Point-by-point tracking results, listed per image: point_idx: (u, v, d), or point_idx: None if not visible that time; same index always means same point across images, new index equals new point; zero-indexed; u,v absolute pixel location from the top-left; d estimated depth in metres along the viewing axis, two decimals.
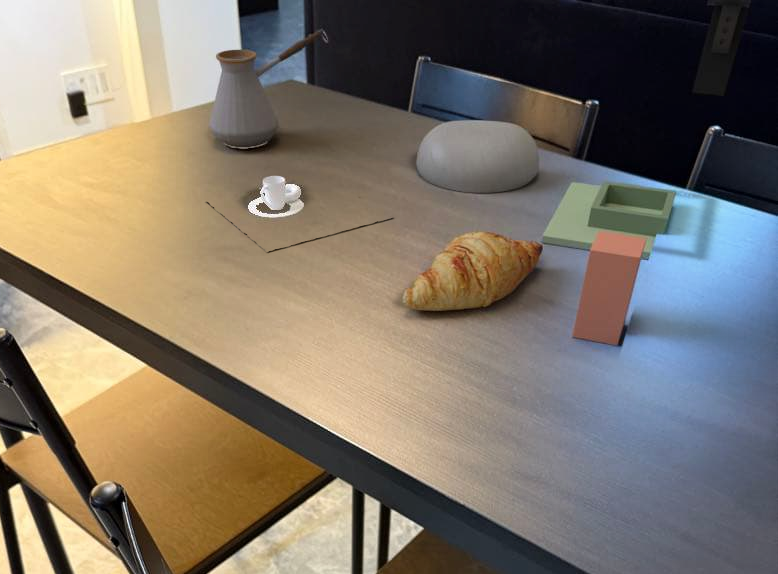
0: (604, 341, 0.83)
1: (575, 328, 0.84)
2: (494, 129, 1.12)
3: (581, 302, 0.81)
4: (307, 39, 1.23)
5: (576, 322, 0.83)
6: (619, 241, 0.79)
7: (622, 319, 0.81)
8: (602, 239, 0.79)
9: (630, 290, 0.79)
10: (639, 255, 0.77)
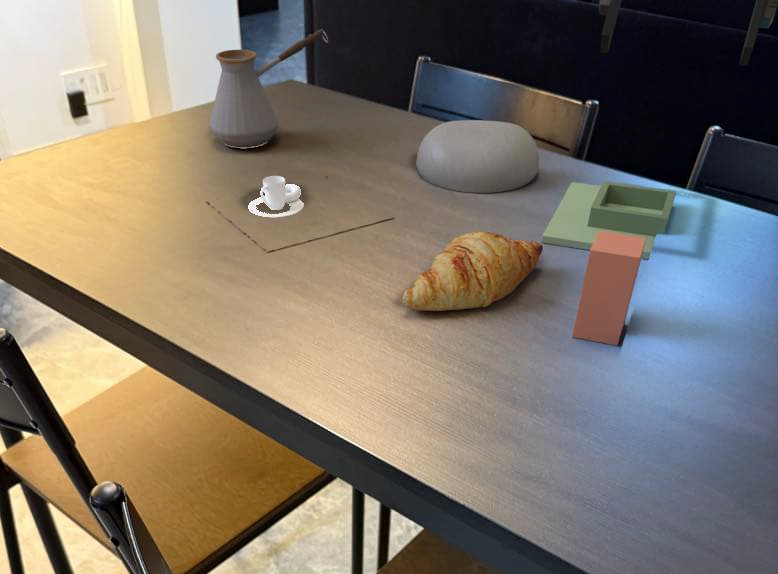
0: (604, 341, 0.83)
1: (575, 328, 0.84)
2: (494, 129, 1.12)
3: (581, 302, 0.81)
4: (307, 39, 1.23)
5: (576, 322, 0.83)
6: (619, 241, 0.79)
7: (622, 319, 0.81)
8: (602, 239, 0.79)
9: (630, 290, 0.79)
10: (639, 255, 0.77)
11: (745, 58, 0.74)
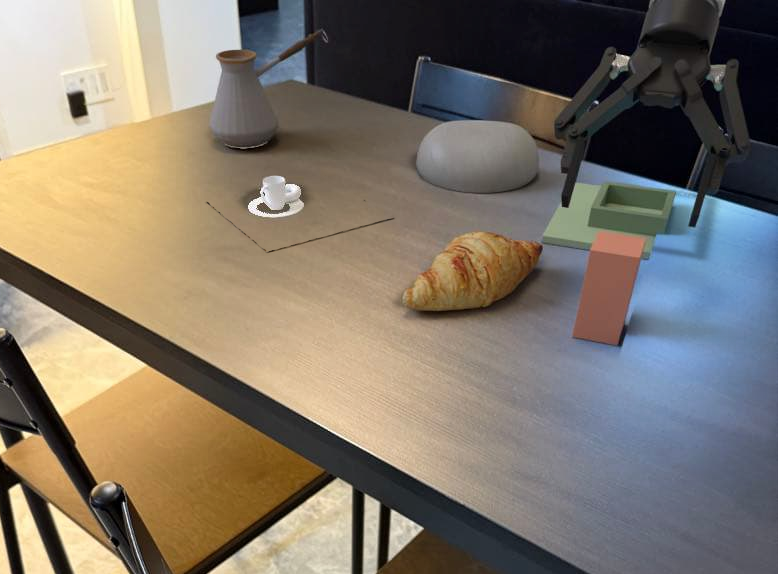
0: (604, 341, 0.83)
1: (575, 328, 0.84)
2: (494, 129, 1.12)
3: (581, 302, 0.81)
4: (307, 39, 1.23)
5: (576, 322, 0.83)
6: (619, 241, 0.79)
7: (622, 319, 0.81)
8: (602, 239, 0.79)
9: (630, 290, 0.79)
10: (639, 255, 0.77)
11: (693, 222, 0.80)
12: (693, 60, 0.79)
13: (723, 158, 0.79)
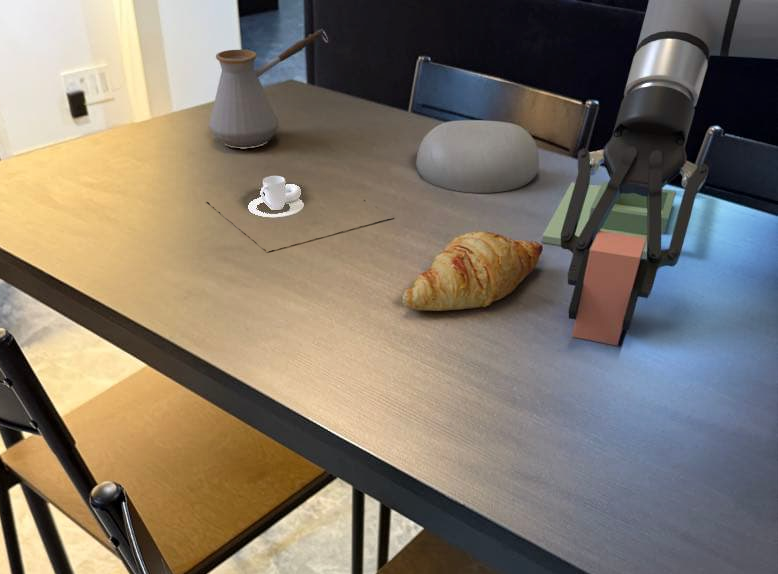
0: (604, 341, 0.83)
1: (575, 328, 0.84)
2: (494, 129, 1.12)
3: (581, 302, 0.81)
4: (307, 39, 1.23)
5: (576, 322, 0.83)
6: (619, 241, 0.79)
7: (622, 319, 0.81)
8: (602, 239, 0.79)
9: (630, 290, 0.79)
10: (639, 255, 0.77)
11: (626, 325, 0.80)
12: (668, 151, 0.78)
13: (651, 263, 0.79)
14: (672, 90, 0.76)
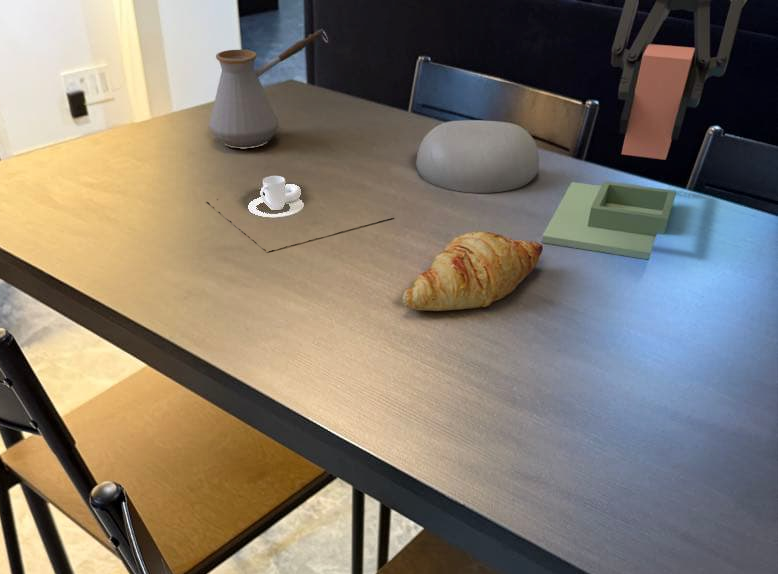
0: (653, 156, 0.87)
1: (625, 144, 0.87)
2: (494, 129, 1.12)
3: (632, 114, 0.85)
4: (307, 39, 1.23)
5: (626, 137, 0.87)
6: (669, 50, 0.82)
7: (671, 129, 0.85)
8: (653, 48, 0.83)
9: (680, 96, 0.82)
10: (690, 58, 0.80)
11: (675, 134, 0.84)
12: None
13: (700, 71, 0.83)
14: None
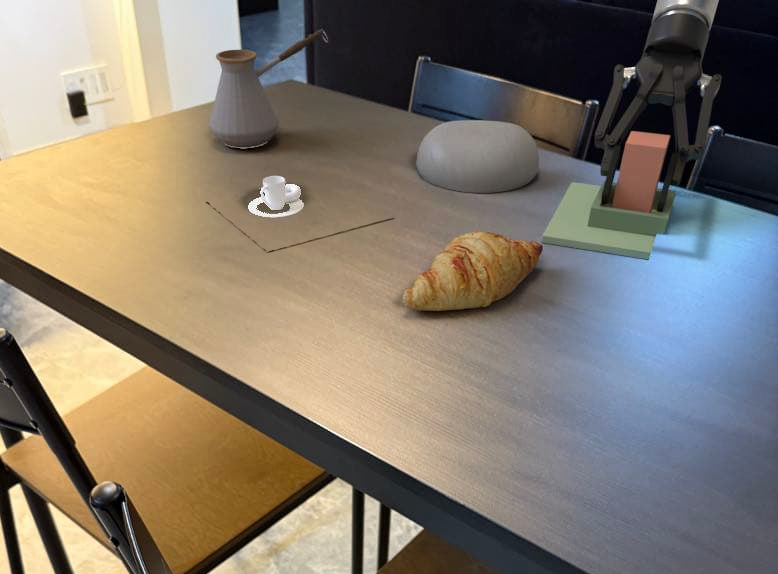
0: None
1: None
2: (494, 129, 1.12)
3: (617, 190, 1.01)
4: (307, 39, 1.23)
5: None
6: (648, 138, 0.98)
7: (650, 203, 1.00)
8: (634, 136, 0.98)
9: (657, 177, 0.98)
10: (665, 146, 0.96)
11: (660, 208, 0.99)
12: (688, 66, 0.98)
13: (681, 156, 0.98)
14: (691, 16, 0.95)
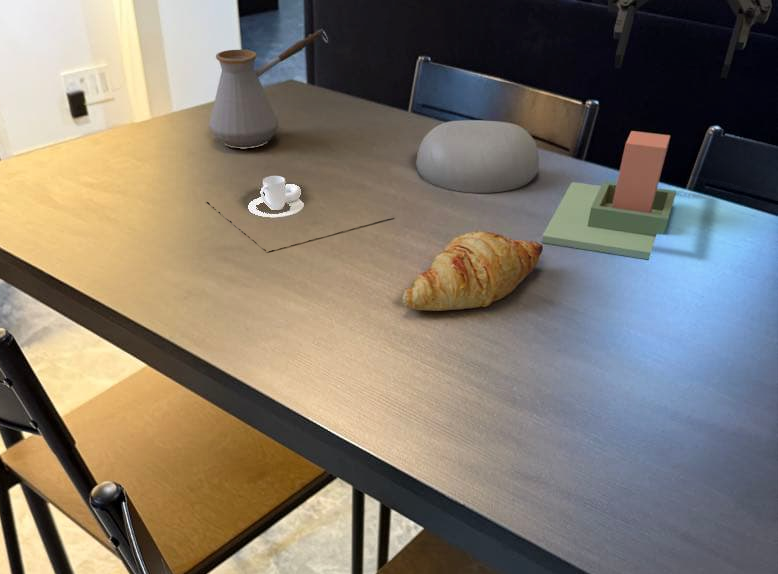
0: None
1: None
2: (494, 129, 1.12)
3: (617, 190, 1.01)
4: (307, 39, 1.23)
5: None
6: (648, 138, 0.98)
7: (650, 203, 1.00)
8: (634, 136, 0.98)
9: (657, 177, 0.98)
10: (665, 146, 0.96)
11: (724, 72, 0.98)
12: None
13: (749, 17, 0.96)
14: None
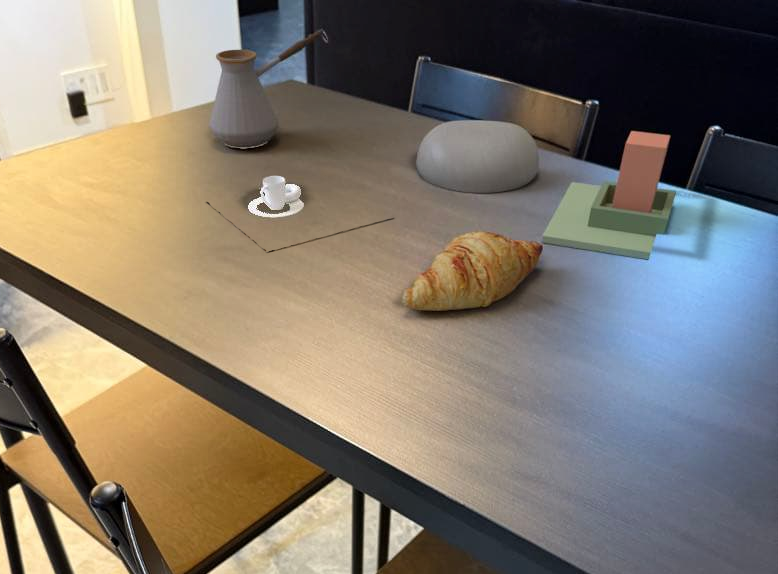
0: None
1: None
2: (494, 129, 1.12)
3: (617, 190, 1.01)
4: (307, 39, 1.23)
5: None
6: (648, 138, 0.98)
7: (650, 203, 1.00)
8: (634, 136, 0.98)
9: (657, 177, 0.98)
10: (665, 146, 0.96)
11: None
12: None
13: None
14: None
